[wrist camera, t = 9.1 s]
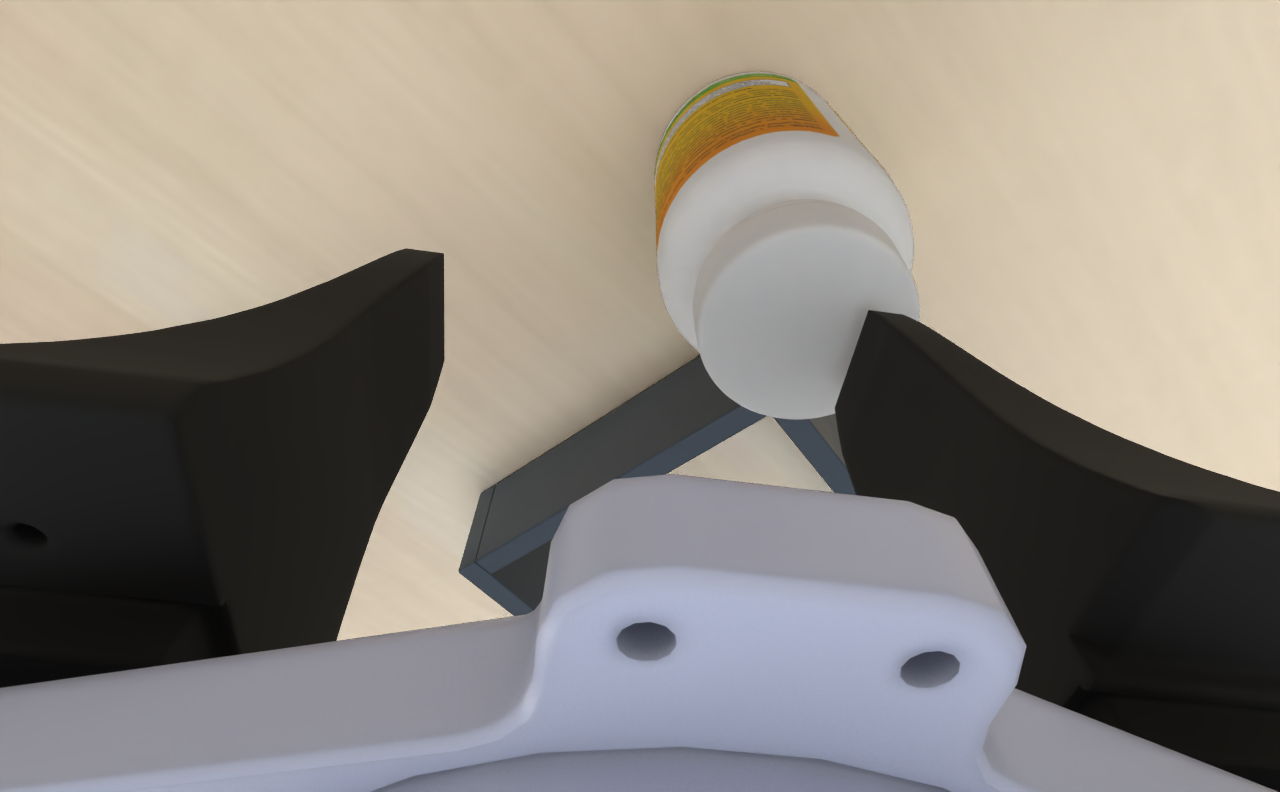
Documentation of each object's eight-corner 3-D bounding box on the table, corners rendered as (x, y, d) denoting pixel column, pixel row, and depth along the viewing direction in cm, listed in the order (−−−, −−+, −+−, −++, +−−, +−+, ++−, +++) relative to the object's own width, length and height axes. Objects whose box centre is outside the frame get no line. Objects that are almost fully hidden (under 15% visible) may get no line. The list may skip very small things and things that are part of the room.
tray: (674, 662, 34) (677, 745, 31) (480, 493, 28) (457, 572, 25) (933, 542, 29) (969, 623, 26) (762, 315, 24) (779, 382, 21)
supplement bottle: (619, 199, 22) (601, 375, 14) (724, 25, 19) (777, 117, 11) (768, 286, 23) (830, 491, 15) (883, 136, 21) (1030, 287, 13)
